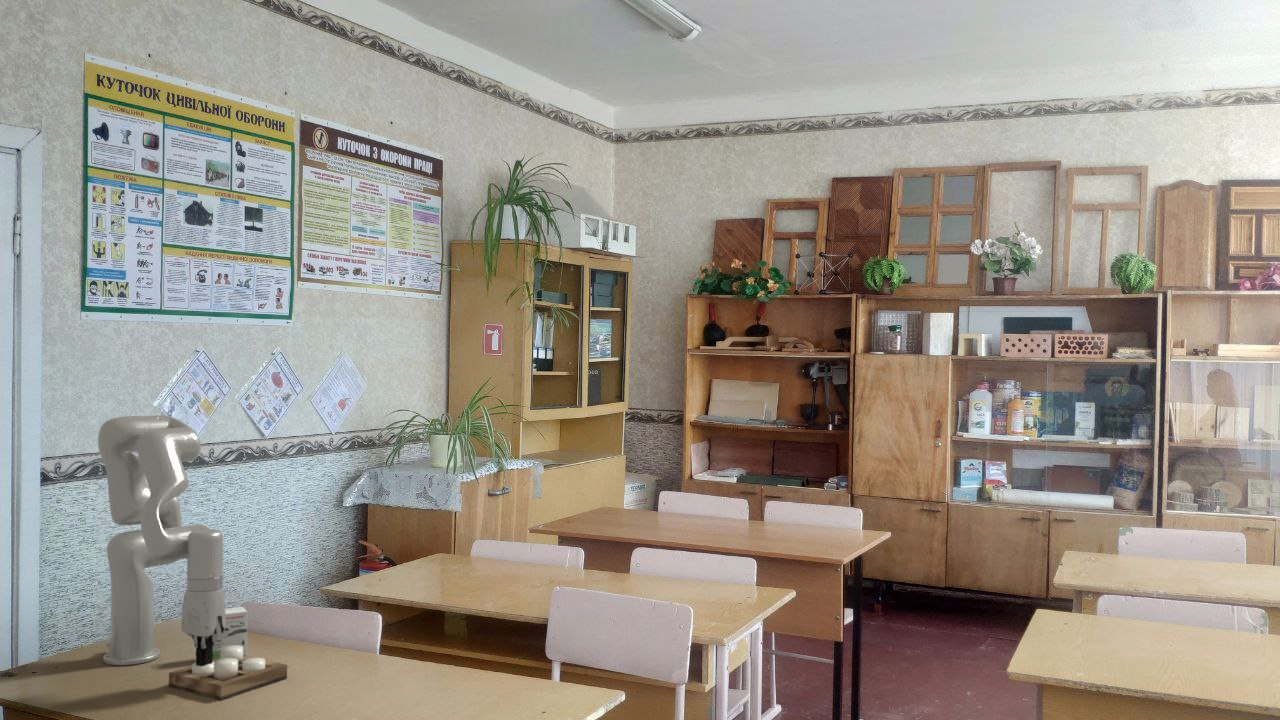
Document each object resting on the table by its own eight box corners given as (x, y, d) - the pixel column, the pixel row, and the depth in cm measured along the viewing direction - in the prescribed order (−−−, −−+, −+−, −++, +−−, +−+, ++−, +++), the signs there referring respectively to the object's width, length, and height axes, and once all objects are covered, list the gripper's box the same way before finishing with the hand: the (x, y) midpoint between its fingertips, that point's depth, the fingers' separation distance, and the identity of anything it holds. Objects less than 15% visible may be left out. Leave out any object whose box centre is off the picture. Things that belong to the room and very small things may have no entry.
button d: (237, 677, 235) (237, 662, 235) (255, 671, 239) (255, 656, 239) (252, 680, 232) (252, 665, 232) (269, 674, 237) (269, 659, 237)
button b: (215, 664, 239) (215, 649, 239) (233, 658, 243) (233, 644, 243) (229, 667, 236) (230, 652, 236) (247, 662, 241) (247, 647, 241)
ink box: (211, 662, 250) (211, 614, 250) (207, 657, 254) (207, 610, 254) (247, 657, 254) (248, 610, 254) (243, 652, 259) (243, 606, 259)
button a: (187, 680, 232) (187, 665, 232) (206, 674, 236) (206, 659, 236) (201, 684, 230) (201, 668, 230) (220, 678, 234) (220, 663, 234)
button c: (209, 678, 228) (209, 662, 228) (227, 672, 233) (228, 657, 233) (223, 681, 226) (224, 666, 226) (242, 675, 230) (242, 660, 230)
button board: (168, 686, 231) (168, 672, 231) (235, 666, 247) (235, 653, 247) (221, 700, 222) (221, 685, 222) (287, 678, 238) (287, 664, 238)
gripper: (169, 583, 233) (168, 663, 233) (212, 591, 226) (211, 673, 226) (198, 577, 240) (197, 655, 240) (240, 584, 233) (240, 665, 232)
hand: (204, 664), depth 233 cm, fingers closed
